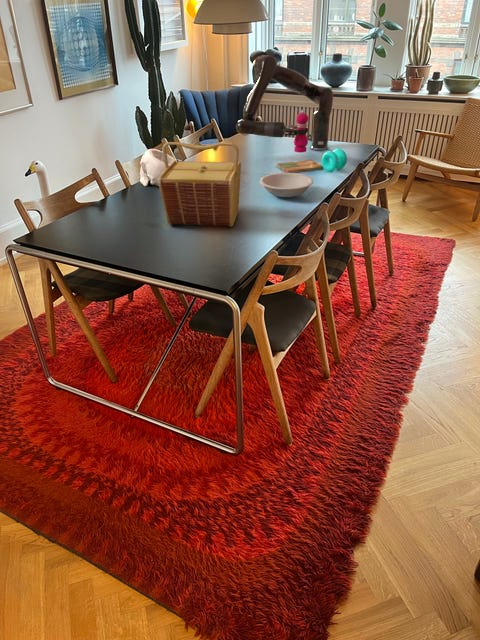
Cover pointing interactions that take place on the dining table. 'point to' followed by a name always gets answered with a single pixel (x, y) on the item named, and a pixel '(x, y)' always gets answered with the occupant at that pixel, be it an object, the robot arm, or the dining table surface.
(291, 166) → the oak board
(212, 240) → the dining table surface
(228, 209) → the picnic basket
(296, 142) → the pepper mill
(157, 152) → the skull planter
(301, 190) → the soup bowl
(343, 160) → the turquoise spool
